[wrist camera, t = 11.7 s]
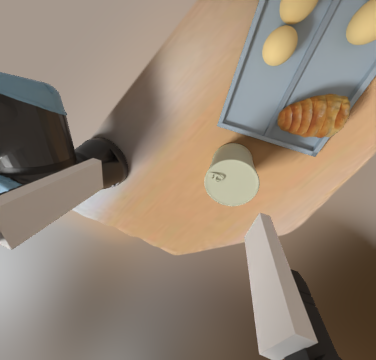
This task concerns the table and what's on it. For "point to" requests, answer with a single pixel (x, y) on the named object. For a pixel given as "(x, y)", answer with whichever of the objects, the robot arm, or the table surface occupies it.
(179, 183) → the table surface
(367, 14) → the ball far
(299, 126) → the pastry
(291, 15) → the ball
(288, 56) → the ball
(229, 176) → the can
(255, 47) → the sorting tray
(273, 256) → the robot arm
